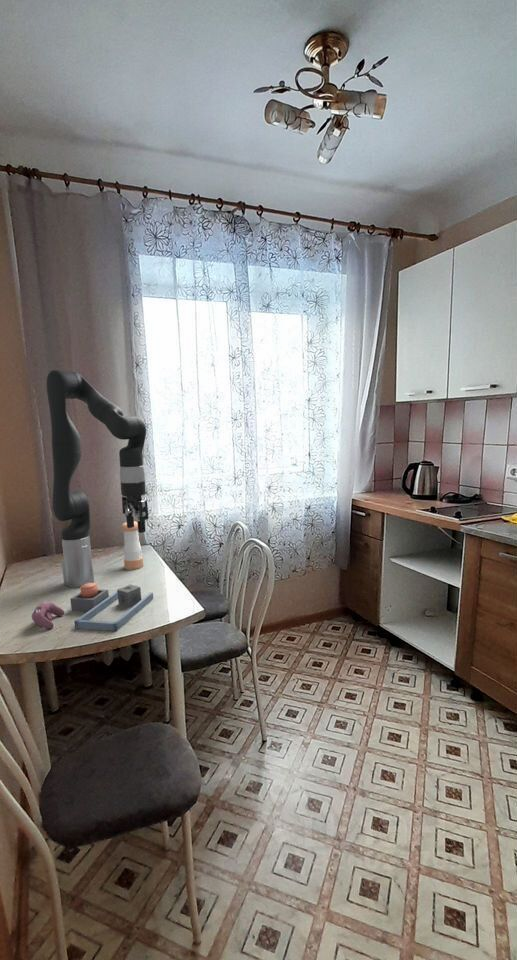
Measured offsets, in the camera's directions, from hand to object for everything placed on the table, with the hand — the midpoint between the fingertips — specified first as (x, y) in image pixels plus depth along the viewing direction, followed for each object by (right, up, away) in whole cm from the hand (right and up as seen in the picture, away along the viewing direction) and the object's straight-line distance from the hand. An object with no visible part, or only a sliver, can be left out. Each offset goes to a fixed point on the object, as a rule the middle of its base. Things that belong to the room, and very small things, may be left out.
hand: (136, 529), depth 139 cm
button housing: (-13, -24, -3) cm, 27 cm away
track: (-3, -24, -8) cm, 26 cm away
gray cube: (-1, -23, -2) cm, 23 cm away
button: (-14, -20, -3) cm, 25 cm away
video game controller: (-22, -26, -13) cm, 36 cm away
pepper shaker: (-11, -19, +34) cm, 40 cm away
